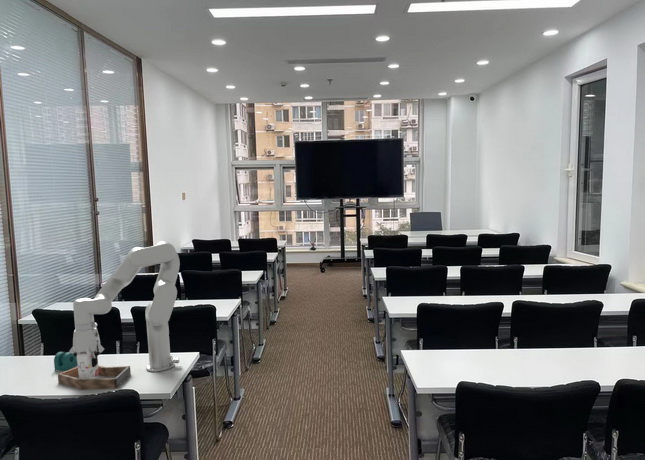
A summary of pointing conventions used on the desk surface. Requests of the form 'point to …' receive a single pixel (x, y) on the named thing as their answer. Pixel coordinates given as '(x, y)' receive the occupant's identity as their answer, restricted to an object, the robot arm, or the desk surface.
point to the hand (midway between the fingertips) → (88, 365)
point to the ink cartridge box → (86, 365)
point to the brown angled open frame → (120, 372)
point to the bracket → (64, 361)
